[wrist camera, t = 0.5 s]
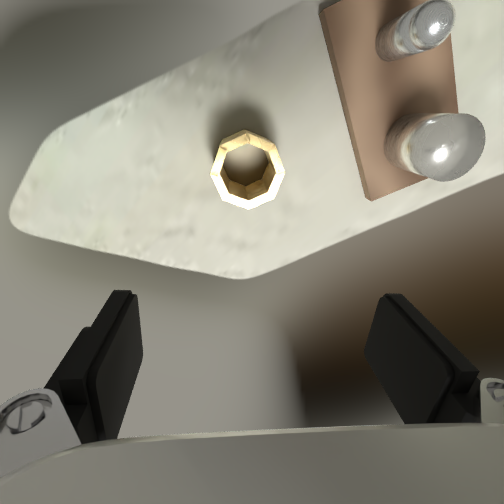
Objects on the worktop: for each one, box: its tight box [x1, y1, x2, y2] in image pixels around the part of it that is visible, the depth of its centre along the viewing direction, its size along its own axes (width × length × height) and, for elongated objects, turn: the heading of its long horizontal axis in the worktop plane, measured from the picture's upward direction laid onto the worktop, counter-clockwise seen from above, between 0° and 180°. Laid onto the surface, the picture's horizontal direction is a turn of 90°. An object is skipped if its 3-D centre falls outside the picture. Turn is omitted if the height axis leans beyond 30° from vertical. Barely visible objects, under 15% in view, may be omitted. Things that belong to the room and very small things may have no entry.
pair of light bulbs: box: [375, 0, 485, 181], centre depth 25 cm, size 5×13×7 cm, turn 23°
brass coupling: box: [210, 129, 285, 209], centre depth 28 cm, size 6×6×6 cm
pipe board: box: [319, 0, 458, 201], centre depth 29 cm, size 10×18×2 cm, turn 23°
